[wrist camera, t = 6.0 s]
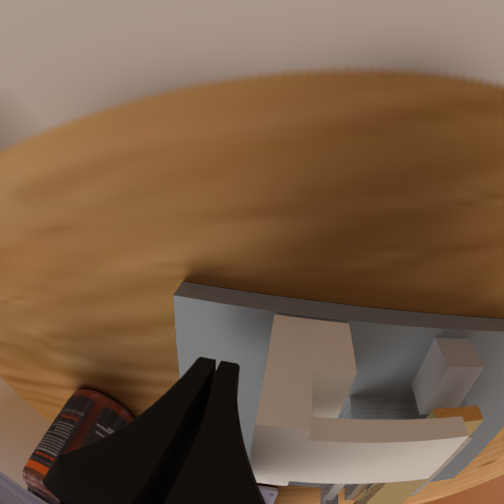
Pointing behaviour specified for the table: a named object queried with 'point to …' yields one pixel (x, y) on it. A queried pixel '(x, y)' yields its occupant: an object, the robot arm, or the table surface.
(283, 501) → the table surface
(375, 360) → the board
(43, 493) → the supplement bottle
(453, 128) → the table surface
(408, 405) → the heatsink
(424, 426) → the white l-shaped block
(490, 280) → the table surface
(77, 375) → the table surface
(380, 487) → the strap
